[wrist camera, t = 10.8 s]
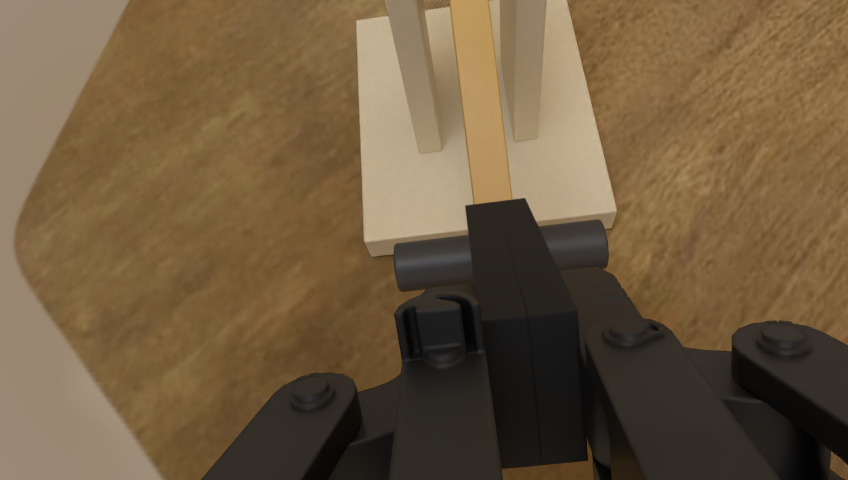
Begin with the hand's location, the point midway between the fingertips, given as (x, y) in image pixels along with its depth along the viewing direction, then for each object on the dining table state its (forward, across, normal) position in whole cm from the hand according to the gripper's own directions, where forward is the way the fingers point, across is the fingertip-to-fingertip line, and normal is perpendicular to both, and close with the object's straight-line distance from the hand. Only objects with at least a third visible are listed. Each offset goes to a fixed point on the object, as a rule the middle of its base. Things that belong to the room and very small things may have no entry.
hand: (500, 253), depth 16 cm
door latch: (+14, 0, +1) cm, 14 cm away
